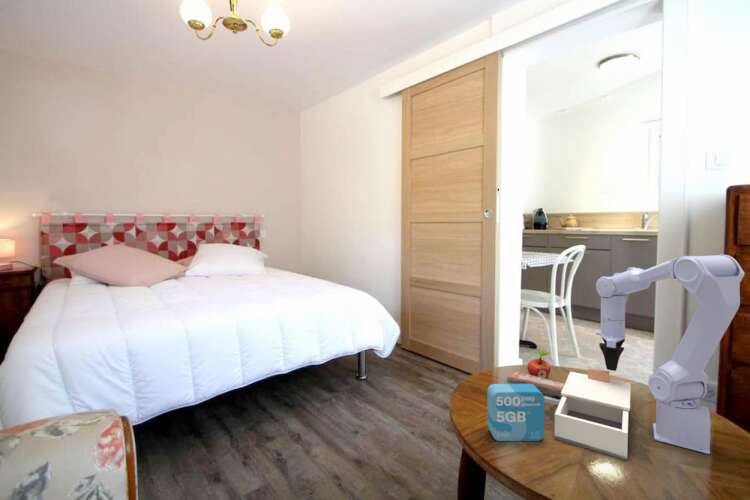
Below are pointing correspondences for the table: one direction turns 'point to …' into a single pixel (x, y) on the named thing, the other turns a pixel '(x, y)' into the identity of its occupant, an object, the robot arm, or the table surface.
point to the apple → (539, 366)
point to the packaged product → (539, 386)
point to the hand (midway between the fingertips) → (612, 365)
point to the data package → (515, 412)
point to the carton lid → (598, 389)
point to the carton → (592, 426)
